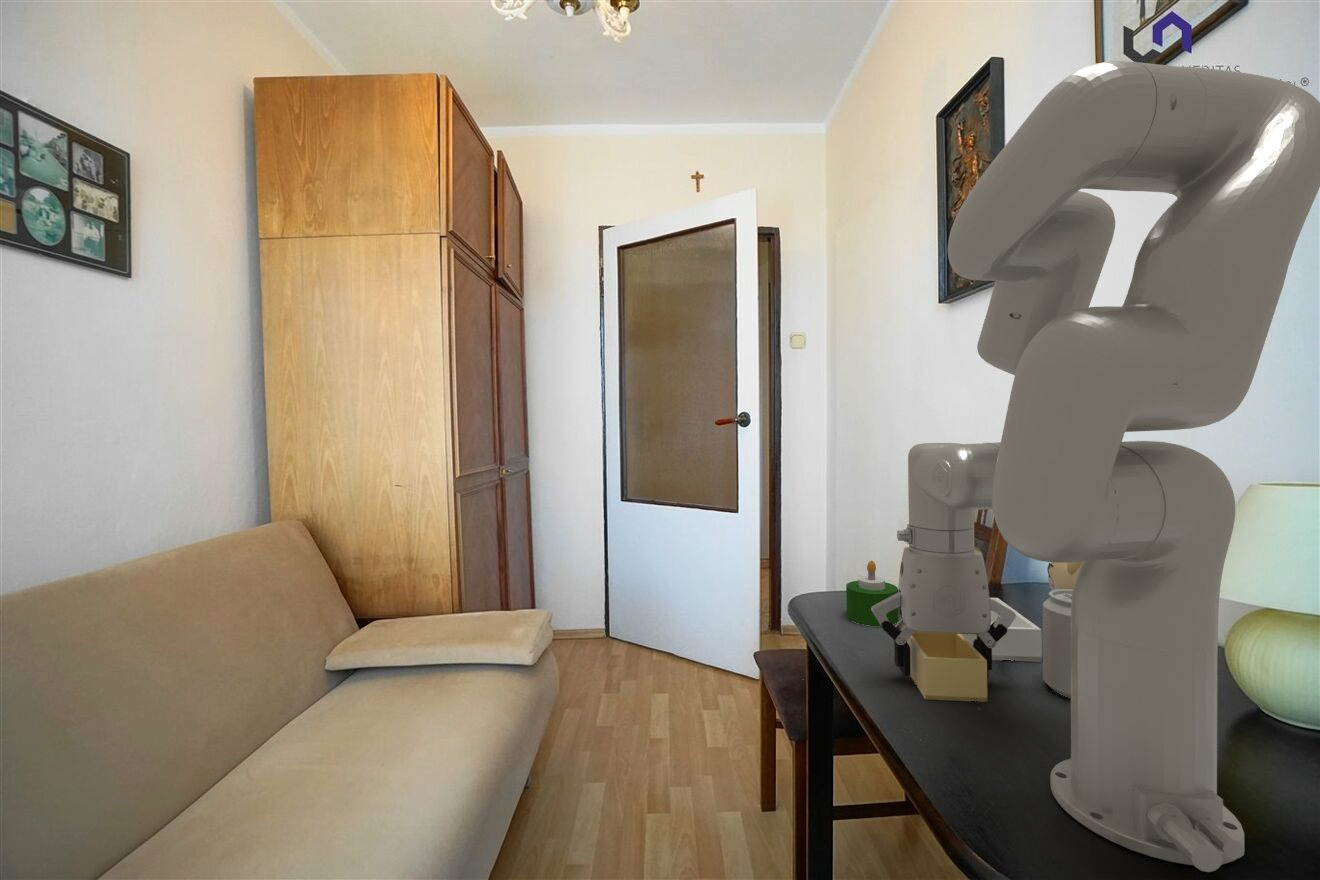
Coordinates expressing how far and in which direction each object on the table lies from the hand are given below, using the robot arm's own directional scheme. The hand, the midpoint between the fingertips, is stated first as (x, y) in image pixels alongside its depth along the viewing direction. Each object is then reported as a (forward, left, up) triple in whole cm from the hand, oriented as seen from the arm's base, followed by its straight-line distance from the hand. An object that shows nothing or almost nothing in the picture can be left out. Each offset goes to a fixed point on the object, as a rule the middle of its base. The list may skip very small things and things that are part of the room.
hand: (942, 673), depth 74 cm
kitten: (+22, -29, -1) cm, 36 cm away
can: (-1, -16, -1) cm, 16 cm away
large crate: (+15, -8, -1) cm, 17 cm away
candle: (+24, +4, -1) cm, 24 cm away
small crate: (0, 0, -1) cm, 1 cm away
